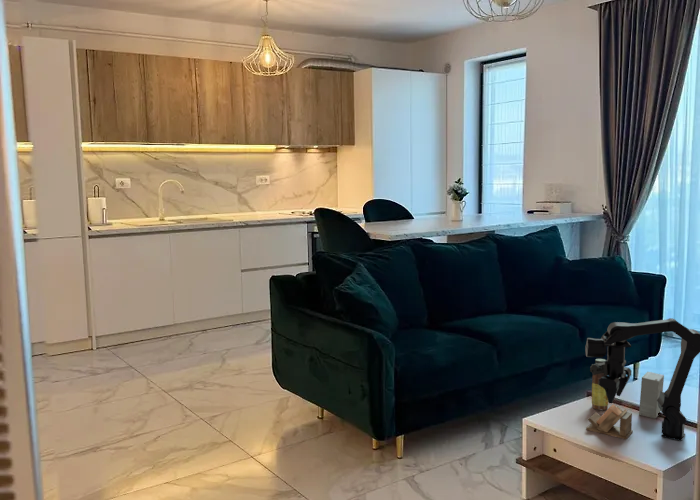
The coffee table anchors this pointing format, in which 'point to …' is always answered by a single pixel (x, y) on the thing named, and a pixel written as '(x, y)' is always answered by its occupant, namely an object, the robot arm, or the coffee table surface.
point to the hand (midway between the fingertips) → (614, 399)
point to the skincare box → (650, 394)
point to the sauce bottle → (598, 391)
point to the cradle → (612, 424)
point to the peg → (610, 409)
